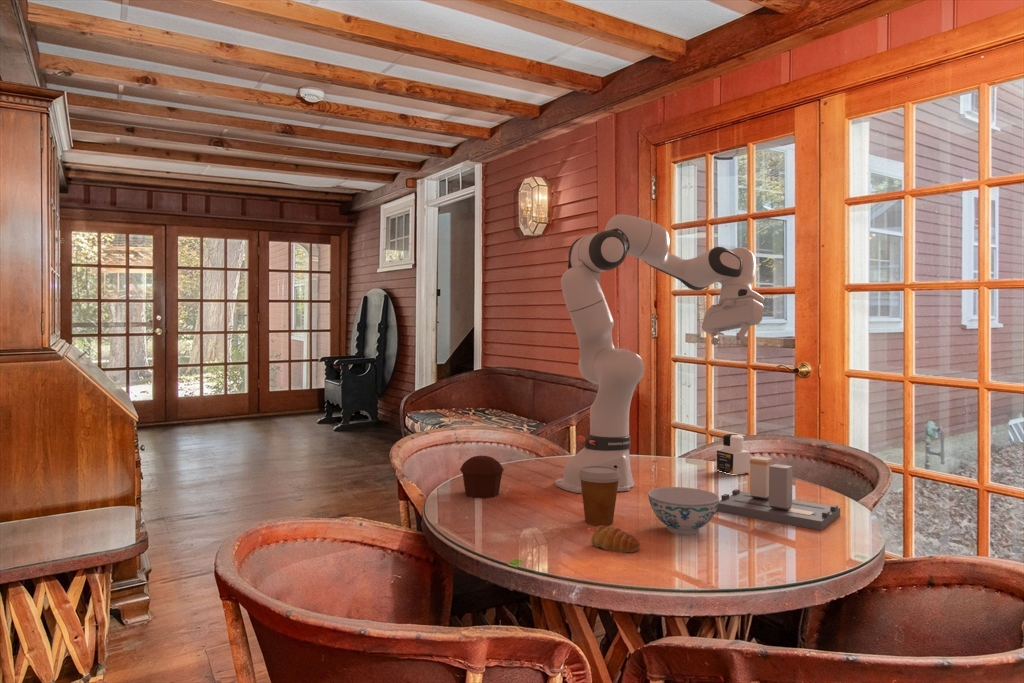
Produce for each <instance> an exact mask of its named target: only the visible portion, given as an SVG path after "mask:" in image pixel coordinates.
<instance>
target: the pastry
mask: <svg viewBox="0 0 1024 683" xmlns="http://www.w3.org/2000/svg"><path fill="white" fill-rule="evenodd" d="M590 542H591V544H592V545H594V546H595V548H598V549H599V548H601V549H603V550H605V551H609V552H610V551H611V552H614V553H615V552H616V553H622V554H623V553H625V554H626V553H634V552H636V551H637V550H639V548H640V545H641V543H640V541H639V540H638V539H637V538H636V537H635V536H634V535H632V534H630V533H629V532H626V531H623V530H622V529H621V528H619V527H618V528H617V527H616V528H615V527H614V526H609V527H608V526H603V525H600V526H596V528H595V529H594V531H593V532H592V536H591V539H590Z"/></svg>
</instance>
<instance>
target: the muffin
mask: <svg viewBox="0 0 1024 683" xmlns="http://www.w3.org/2000/svg"><path fill="white" fill-rule="evenodd" d="M504 470H505V469H504V468H503V466H502V464H501V463H500V462H499V461H498V460H497V459H496V458H494V457H492V456H489V455H476V456H475V455H474V456H471V457H470V458H468V459H466V460H465V461H464V462H463V464H462V465H461V467H460V468H459V471H460V472H461V473H462V479H463V480H462V481H463V487H464V492H465V496H466V497H469V498H473V499H488V498H489V499H490V498H495V497H497V496H499V495H500V494H499V493H500V487H501V481H502V475H503V472H504Z"/></svg>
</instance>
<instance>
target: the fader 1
mask: <svg viewBox="0 0 1024 683" xmlns="http://www.w3.org/2000/svg"><path fill="white" fill-rule="evenodd" d="M771 465H773V458H772V457H766V456H757V455H755V456H752V457H750V474H749V493H750V495H751V497H754V498H760V499H766V500H768V499H769V466H771Z"/></svg>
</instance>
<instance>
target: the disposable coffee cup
mask: <svg viewBox="0 0 1024 683" xmlns="http://www.w3.org/2000/svg"><path fill="white" fill-rule="evenodd" d="M578 475H579V476H580V479H581V488H582V493H581V495H582V496H581V498H582V505H583V513H584V522H585V523H586V524H588V525H592V526H595V527H598V526H600V525H603V526H605V527H607V526H610V525H612V524H613V523H614V518H615V509H616V503H617V494H618V491H617V489H618V481H619V479H620V477H621V475H620V474H619V470H618V469H617V468H614V467H609V466H585V467H582V468H581V469H580V473H579V474H578Z"/></svg>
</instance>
